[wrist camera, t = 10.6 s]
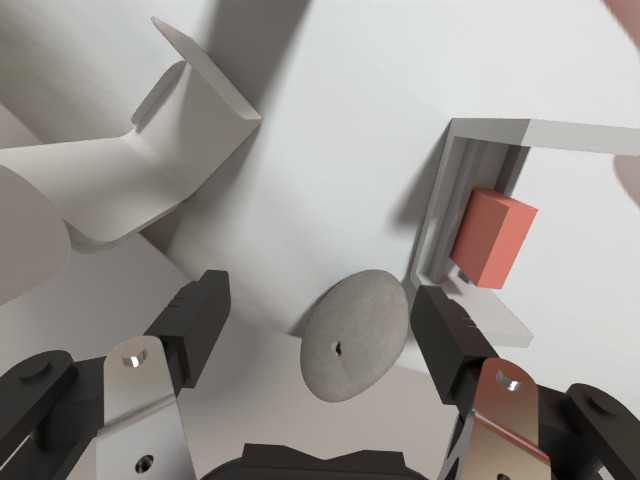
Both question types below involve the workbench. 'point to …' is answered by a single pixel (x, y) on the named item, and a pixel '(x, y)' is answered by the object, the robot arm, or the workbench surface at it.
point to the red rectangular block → (490, 236)
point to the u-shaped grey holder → (501, 176)
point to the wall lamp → (118, 171)
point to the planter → (354, 335)
